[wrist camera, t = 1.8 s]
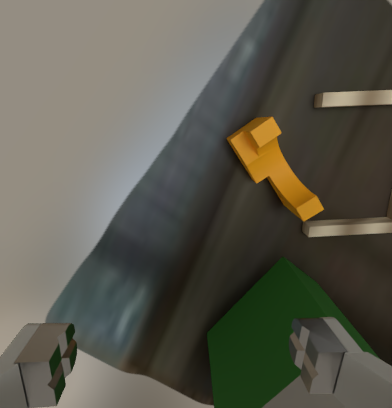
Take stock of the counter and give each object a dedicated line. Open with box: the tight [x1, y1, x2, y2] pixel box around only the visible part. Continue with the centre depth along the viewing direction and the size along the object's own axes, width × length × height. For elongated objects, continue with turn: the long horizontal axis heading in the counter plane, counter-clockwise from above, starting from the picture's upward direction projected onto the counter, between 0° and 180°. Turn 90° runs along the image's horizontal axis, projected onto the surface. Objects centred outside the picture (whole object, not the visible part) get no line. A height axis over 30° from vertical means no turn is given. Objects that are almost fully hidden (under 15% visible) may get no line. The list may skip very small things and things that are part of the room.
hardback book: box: [207, 257, 381, 408], centre depth 29 cm, size 18×7×24 cm, turn 141°
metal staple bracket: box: [302, 90, 392, 237], centre depth 33 cm, size 14×18×2 cm
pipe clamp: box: [226, 117, 324, 221], centre depth 30 cm, size 12×4×6 cm, turn 35°
